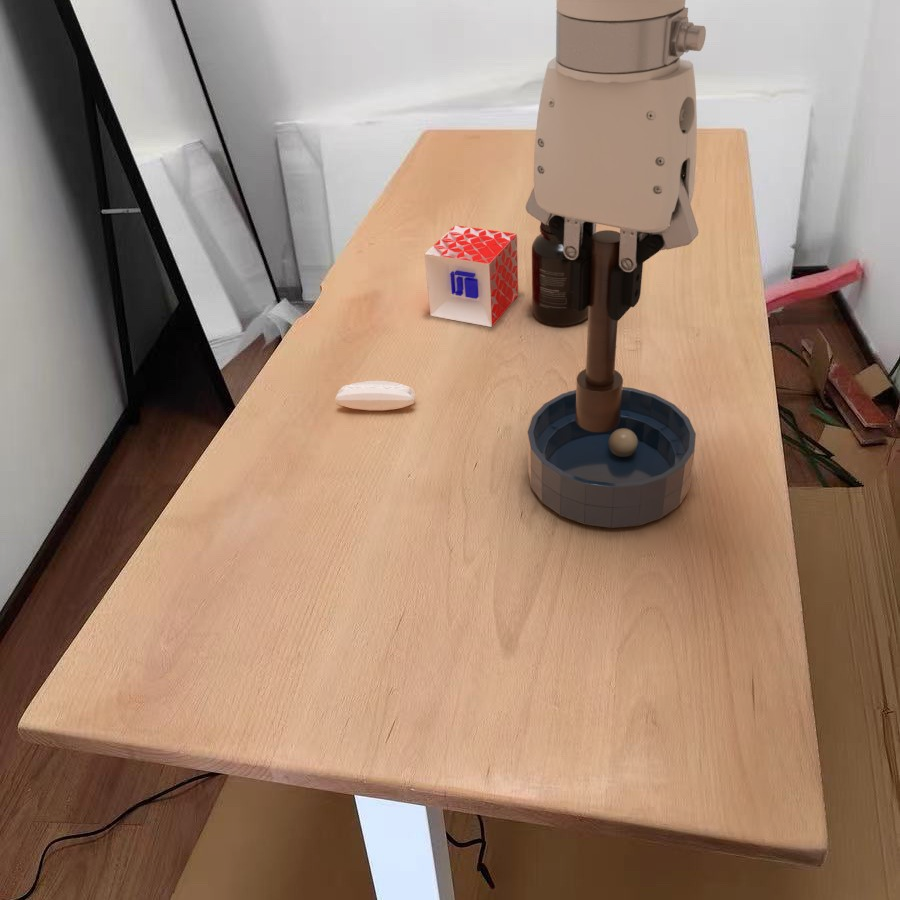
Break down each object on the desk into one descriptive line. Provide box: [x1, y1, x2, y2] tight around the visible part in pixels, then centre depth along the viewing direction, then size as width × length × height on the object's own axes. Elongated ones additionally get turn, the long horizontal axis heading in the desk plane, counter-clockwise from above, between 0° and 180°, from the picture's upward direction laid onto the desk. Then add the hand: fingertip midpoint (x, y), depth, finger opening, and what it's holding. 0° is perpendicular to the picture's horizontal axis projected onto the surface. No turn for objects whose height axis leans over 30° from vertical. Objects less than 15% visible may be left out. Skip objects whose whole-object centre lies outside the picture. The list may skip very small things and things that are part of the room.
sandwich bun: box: [334, 380, 416, 412], centre depth 87 cm, size 3×8×3 cm, turn 84°
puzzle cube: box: [424, 224, 519, 328], centre depth 100 cm, size 8×8×8 cm
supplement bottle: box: [531, 222, 589, 327], centre depth 96 cm, size 7×7×12 cm
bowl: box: [527, 386, 697, 529], centre depth 75 cm, size 14×14×5 cm
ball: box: [609, 428, 638, 457], centre depth 78 cm, size 3×3×3 cm
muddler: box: [575, 229, 624, 432], centre depth 65 cm, size 4×4×16 cm
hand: (603, 305), depth 64 cm, fingers closed on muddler, 2 cm apart
